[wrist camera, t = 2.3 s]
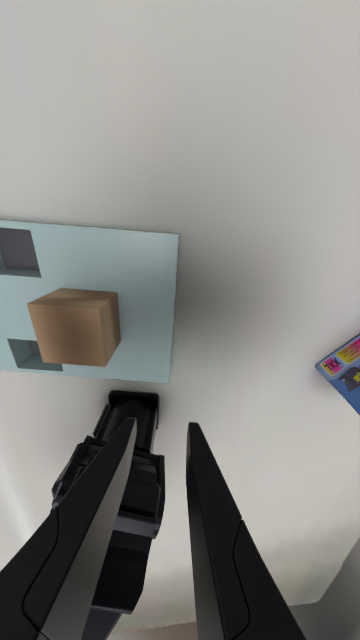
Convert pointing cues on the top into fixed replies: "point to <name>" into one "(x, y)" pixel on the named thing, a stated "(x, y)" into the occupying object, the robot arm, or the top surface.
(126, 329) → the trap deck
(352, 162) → the top surface
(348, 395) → the ink cartridge box
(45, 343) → the walnut block
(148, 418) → the robot arm
